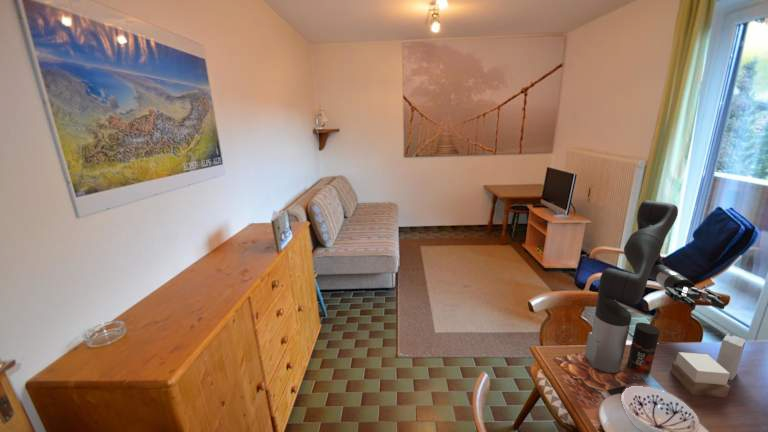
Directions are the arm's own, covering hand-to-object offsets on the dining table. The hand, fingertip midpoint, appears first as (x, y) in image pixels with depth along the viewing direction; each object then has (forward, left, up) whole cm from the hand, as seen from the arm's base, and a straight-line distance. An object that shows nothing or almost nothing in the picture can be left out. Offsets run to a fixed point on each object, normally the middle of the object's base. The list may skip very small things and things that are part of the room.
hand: (708, 306), depth 108 cm
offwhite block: (-12, -17, -13) cm, 25 cm away
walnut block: (-12, -17, -17) cm, 27 cm away
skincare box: (0, -11, -17) cm, 20 cm away
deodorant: (-25, -12, -17) cm, 33 cm away
